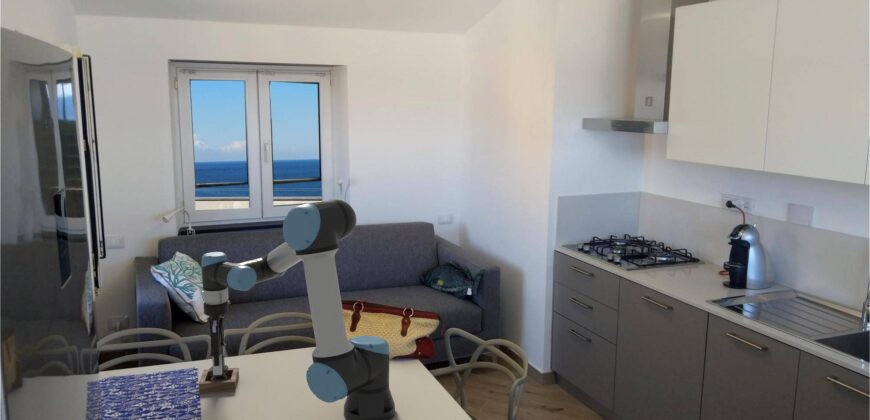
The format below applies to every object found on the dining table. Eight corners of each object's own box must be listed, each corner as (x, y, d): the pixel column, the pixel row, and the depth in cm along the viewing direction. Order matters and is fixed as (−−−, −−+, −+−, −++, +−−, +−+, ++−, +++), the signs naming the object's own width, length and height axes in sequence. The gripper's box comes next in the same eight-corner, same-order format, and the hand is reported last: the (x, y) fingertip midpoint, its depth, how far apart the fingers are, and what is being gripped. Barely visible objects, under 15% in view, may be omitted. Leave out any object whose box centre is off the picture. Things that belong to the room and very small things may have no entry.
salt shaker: (223, 383, 209) (221, 347, 207) (206, 381, 211) (204, 345, 209) (232, 375, 215) (230, 340, 213) (215, 374, 216) (214, 339, 214)
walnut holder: (235, 391, 209) (235, 381, 208) (199, 393, 207) (198, 383, 206) (238, 376, 220) (238, 367, 219) (204, 379, 218) (203, 369, 217)
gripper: (207, 293, 217) (211, 359, 221) (198, 311, 199) (202, 383, 203) (231, 292, 218) (234, 358, 222) (224, 309, 200) (227, 381, 204)
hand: (219, 370), depth 212 cm, fingers closed on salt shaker, 6 cm apart
